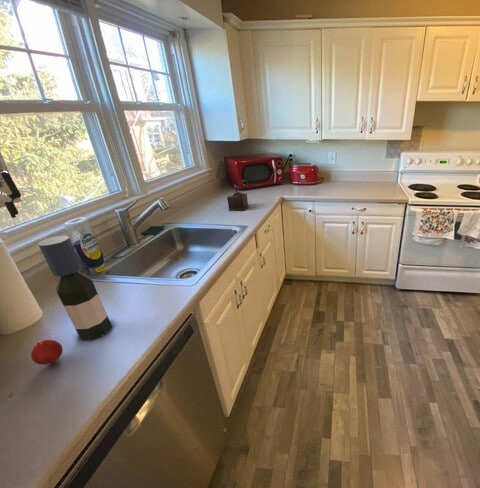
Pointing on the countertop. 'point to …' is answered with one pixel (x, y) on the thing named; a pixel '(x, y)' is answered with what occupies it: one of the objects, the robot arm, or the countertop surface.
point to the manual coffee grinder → (238, 199)
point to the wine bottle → (83, 305)
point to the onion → (46, 352)
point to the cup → (60, 255)
